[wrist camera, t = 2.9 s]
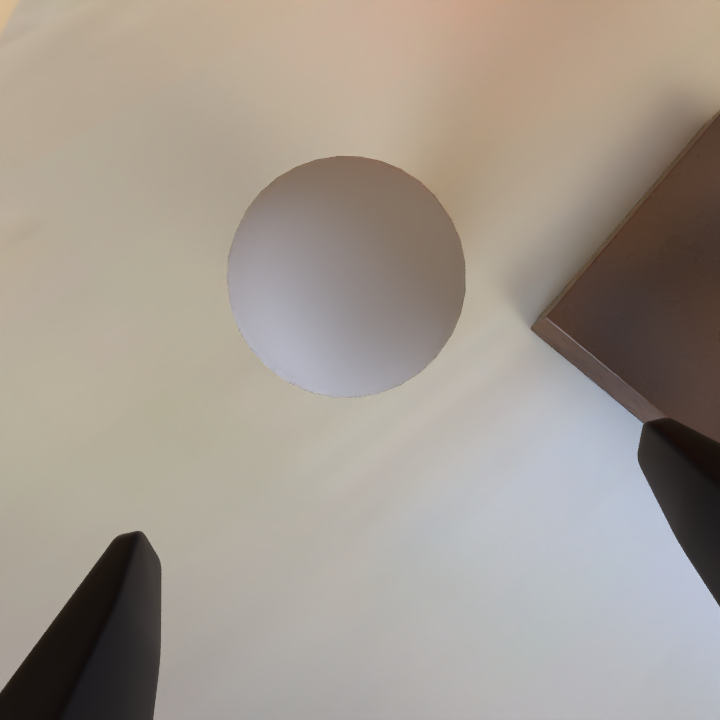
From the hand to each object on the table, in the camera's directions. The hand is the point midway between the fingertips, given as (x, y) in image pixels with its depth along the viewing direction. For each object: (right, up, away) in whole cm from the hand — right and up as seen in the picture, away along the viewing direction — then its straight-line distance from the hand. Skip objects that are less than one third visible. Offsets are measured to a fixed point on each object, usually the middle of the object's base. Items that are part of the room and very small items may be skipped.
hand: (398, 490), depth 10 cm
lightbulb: (-1, +3, +13) cm, 13 cm away
